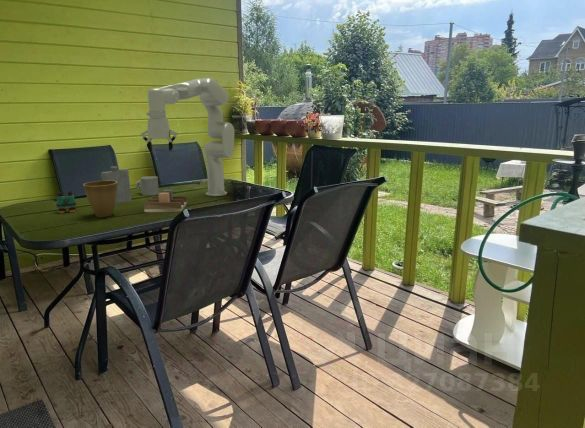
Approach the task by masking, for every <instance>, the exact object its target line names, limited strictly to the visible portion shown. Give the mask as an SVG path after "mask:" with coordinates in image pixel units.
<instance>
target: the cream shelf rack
mask: <svg viewBox="0 0 585 428" xmlns="http://www.w3.org/2000/svg"><path fill="white" fill-rule="evenodd" d="M187 198H188V196H187V195H173V199H170V202H159V196H158V195H157V196H156V195H154V196H151V199H147V202H144V203H143V209H144V213H169V212H170V213H172V212H173V213H174V212H182V211H183V210H184V209H185V208H186V207H187V205H188V199H187Z"/></svg>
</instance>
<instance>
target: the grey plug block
mask: <svg viewBox="0 0 585 428" xmlns="http://www.w3.org/2000/svg"><path fill="white" fill-rule="evenodd" d="M167 192H169V196H170V199H173V196H174V195H173V194H174V190H173V189H162V192H161V193H167Z"/></svg>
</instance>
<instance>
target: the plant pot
mask: <svg viewBox="0 0 585 428" xmlns="http://www.w3.org/2000/svg"><path fill="white" fill-rule="evenodd" d="M82 186H83V189H84V193H85V195H86V198H87V200H88V203H89V205H90V208H91V210H92V212H93V213H94V215H95V216H96V217H97V218H105V217H110V216H113V214H114V210H115V208H116V207H115V205H116V204H115V202H116V194H117V181H111V180H105V181H102V180H95V181H89V182H85V183H83V185H82Z"/></svg>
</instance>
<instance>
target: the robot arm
mask: <svg viewBox="0 0 585 428" xmlns="http://www.w3.org/2000/svg"><path fill="white" fill-rule="evenodd" d="M198 96H199V100H200V102H201V103H202V105H203V106H204V107H205V109H206V111H207V136H208V137H209V138H211V139H217V140H210V141H207V142H206V143H205V144H204V147H203V151H204V155H205V161H206V175H207V176H206V177H207V192H205V196H208V197H222V196H227V195H228V192H227V191H225V175H224V164H223V161H222V159H229V158H231V157H232V156H233V154H234V149H235V128H234V126H233V124H232V123H230V122H226V121H224V120H223V119H224V115H223V113H224V112H223V111H222V108H221V107H222V106H225V105H227V104H228V102H229V95H228V93H227V91H226V90H225V88H223V87H222V86H221V85H220V84H219V82H218V81H216V80H215V79H213V78H211V77H204V78H203V77H200V78H199V77H198V78H195V79H190V80H187V81H184V82H183V81H182V82H178V83H175V84H170V85H165V86H161V87H158V88H157V87H155V88H153V87H152V88H149V89H147V99H148V100H147V101H148V112H146V116H148V118H147V130H145V131H142V132H141V133H140V135H141V137H142V139H143V140H144V141H145V142H146V145H147V149H148V151H153V145H152V144H153V143H152V140H155V139H157V140H158V139H159V140H160V139H161V140H162V139H167V141H168V150H169V152H170V151H172V149H173V148H174V147H173V143H174V141H175V140H176V138H177V136H178V133H177V131H174V130H172V129H170V123H169V118H168V117H167V114H166V112H167V111H166V105H175V104H177V103H178V102H179V101H182V100H189V99H192V98H195V97H198ZM220 106H221V107H220ZM171 134H172V135H173V136H172V137H171ZM146 135H147V136H146ZM219 140H220V141H219Z"/></svg>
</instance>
